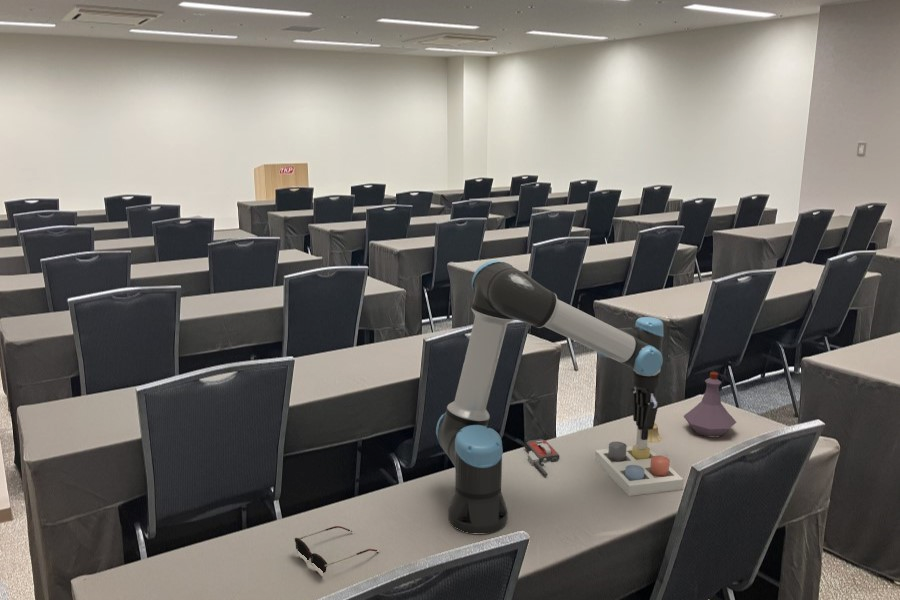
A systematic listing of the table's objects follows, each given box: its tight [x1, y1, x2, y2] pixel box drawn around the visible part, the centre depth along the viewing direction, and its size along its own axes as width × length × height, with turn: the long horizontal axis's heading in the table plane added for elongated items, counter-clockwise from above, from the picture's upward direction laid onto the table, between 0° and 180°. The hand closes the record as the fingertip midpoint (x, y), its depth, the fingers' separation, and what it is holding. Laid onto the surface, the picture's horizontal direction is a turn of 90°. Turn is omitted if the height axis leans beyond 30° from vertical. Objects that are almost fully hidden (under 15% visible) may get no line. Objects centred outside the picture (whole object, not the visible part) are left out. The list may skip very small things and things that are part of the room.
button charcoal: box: [608, 441, 628, 462], centre depth 218 cm, size 5×5×4 cm
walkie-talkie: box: [523, 438, 560, 477], centre depth 225 cm, size 9×4×20 cm
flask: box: [683, 371, 737, 437], centre depth 243 cm, size 16×16×20 cm
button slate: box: [625, 465, 644, 481], centre depth 208 cm, size 5×5×4 cm
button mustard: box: [632, 444, 651, 460], centre depth 221 cm, size 5×5×4 cm
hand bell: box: [647, 396, 662, 444], centre depth 237 cm, size 8×8×16 cm
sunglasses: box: [293, 525, 378, 574], centre depth 178 cm, size 14×16×5 cm
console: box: [594, 445, 684, 497], centre depth 215 cm, size 16×22×4 cm
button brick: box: [650, 454, 671, 477], centre depth 210 cm, size 5×5×4 cm
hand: (641, 448), depth 220 cm, fingers closed
